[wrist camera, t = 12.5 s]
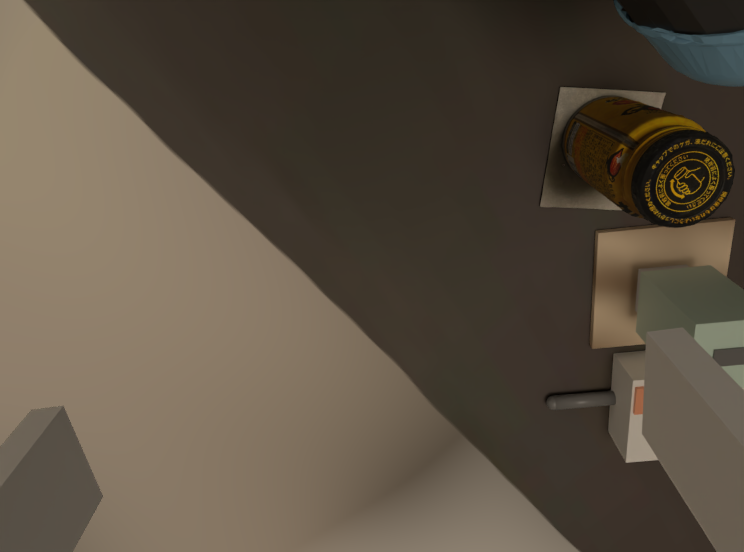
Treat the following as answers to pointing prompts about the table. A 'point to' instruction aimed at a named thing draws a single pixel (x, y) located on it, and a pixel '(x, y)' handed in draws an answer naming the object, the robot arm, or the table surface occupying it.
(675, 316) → the block
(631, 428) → the power strip
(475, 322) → the table surface
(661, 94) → the condiment
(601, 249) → the cork coaster
